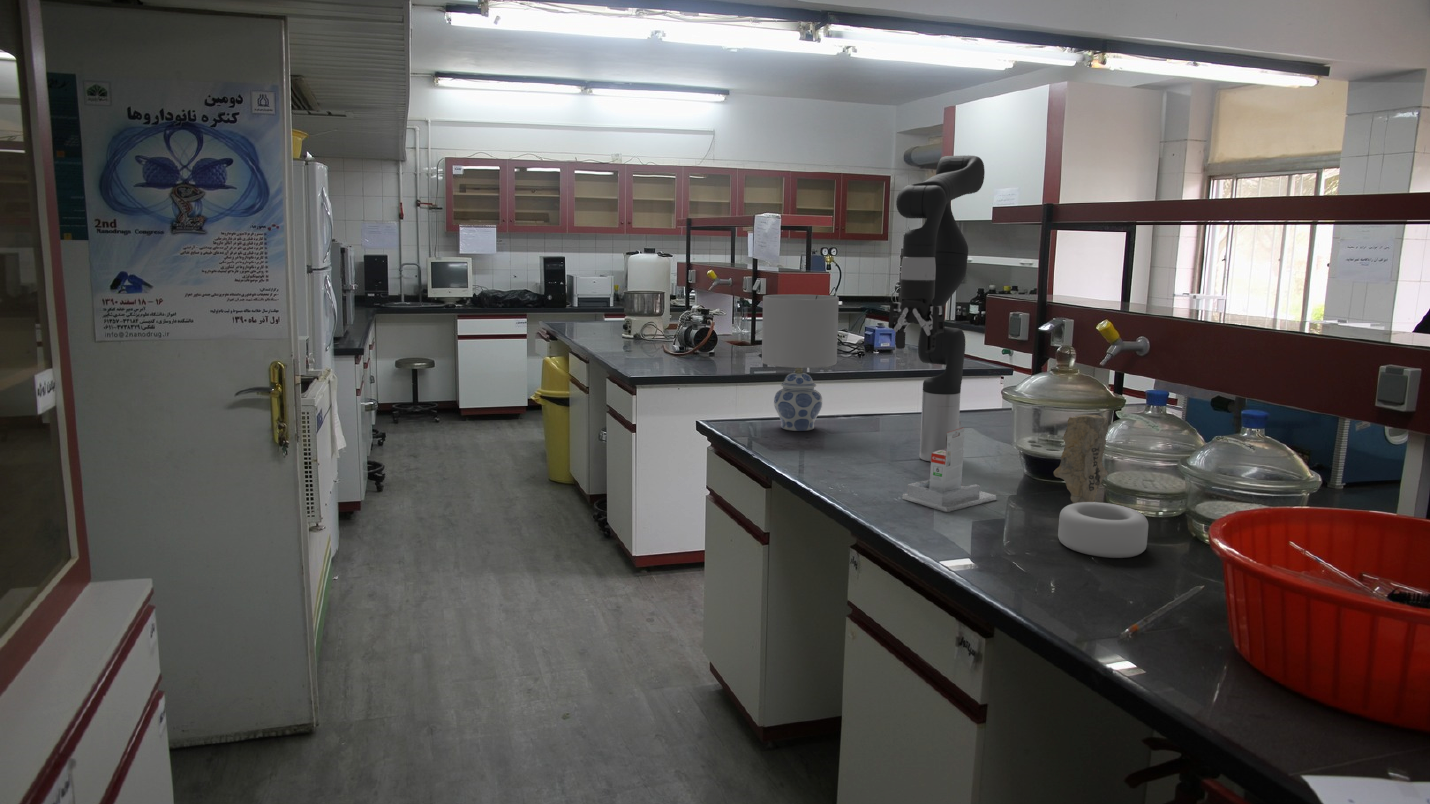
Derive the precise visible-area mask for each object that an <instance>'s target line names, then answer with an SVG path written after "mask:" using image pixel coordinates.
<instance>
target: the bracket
mask: <svg viewBox="0 0 1430 804" xmlns="http://www.w3.org/2000/svg"><path fill="white" fill-rule="evenodd" d="M929 485H930V479H926V480H921V481H917V482H912V483H908V484H907V490H906V491H907V492H906V493H903V494H902V500H904V501H908V502H911V503H916V504H918V505H921V506H925V507H928V508H932V509H934V510H936V511H937V510H938V511H941V512H945V513H949V512H953V511H957V510H960V509H966V508H969V507H973V506H977V505H981V504H985V503H989V502H993V501H996V500H997V494H993V493H989V492H986V491H982V490H981V485H979V484H976V483H974V484H970V485H967V486H966V485H965V486H963V485H961V488H957V489H953V490H948V491H944V492H939V491H935V490H932V489H929Z"/></svg>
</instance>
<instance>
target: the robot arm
mask: <svg viewBox="0 0 1430 804" xmlns="http://www.w3.org/2000/svg"><path fill="white" fill-rule="evenodd" d="M984 180H985V164H984V161H983V160H982V159H981V158H980V157H979V156H976V155H969V154H968V155H945V156H941V157H940V158H939V160H938V163H937V166H936V171H935V175H933V176H931V177H929V178H928V179H925V181H919V182H915V183H911V184H908V185H906V186H903V187H902V188H901V190H900V191H899V192H898V194H897V197H896V202H895V203H896V204H895V205H896V209H897V212H898V213H899V215H900V216H902V218H903V217H904V218H905V219H926V220H925V222H924V224H923V225H922V226H921V227H919V228H915V229H909V230H907V231H905V232H904V235H903V243H902V245H903V248H902V262H901V267H900V284H899V285H900V287H899V298H900V299H901V302H899V301H897V302H896V301H895V302H894V301H893V302H891V303H890V305H889V314H888V328H889V329H892V330H893V331H894V332H895V335H894V336H895V337H894V338H895V341H894V342H895V343H894V345H895V348H896V349H899V350H902V349H905V347H906V332H905V331H906V329H907V328H908V326H909V325H912V324H915V325H919V326H920V330H919V335H918V342H917V343H918V345H917V353H918V358H919V361H921V362H922V363H925V364H932V365H940V366H941V365H942V366H945V368H944V369H945V370H944V371H943V372H942V373H941V374H939V375H936V376H932V377H928V378H925V379H924V380H923V383H922V397H921V399H922V401H921V415H920V416H921V419H920V439H919V459H920V460H923V461H927V462H931V453H933V452H936V451H939V450H942V449H945V448H946V433H947V432H950V431H953V430H957V429H960V428H962V422H961V420H960V411H961V409H960V407H961V391H962V389H961V387H962V383H963V373H964V372H963V370H964V360H965V353H966V335H965V332H964V331H963V329H960V328H958V327H945V306H946V304H947V303H948V301H949V300H950V298H952V296H953V295H954V293H955V292H956V291H957V289H959V288H960V286H961V284H962V283H963V281H964V279H965V277H966V274H967V269H968V268H967V267H968V258H969V246H968V244H967V239H966V238H965V236H964V234H963V232H962V231H961V229H960V227H959V225H958V223H957V222H956V219H955V216H954V214H953V211H952V205H951V202H952V201H953V200H955V199H957V198H960V197H962V196H965V195H971V194H975V193H978V192H979V191H980V190H981V189H982V187H983V185H984ZM958 435H959V433H955V434H953V435H952V438H953V437H956V436H958Z"/></svg>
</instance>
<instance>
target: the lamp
mask: <svg viewBox="0 0 1430 804" xmlns="http://www.w3.org/2000/svg"><path fill="white" fill-rule="evenodd" d="M839 298H840V297H839V296H835V295H834V296H832V295H823V294H821V295H820V294H797V293H796V294H794V293H793V294H768V295H763V296H762V326H761V327H762V328H761V329H762V331H761V332H762V333H761V335H762V337H761V340H762V341H761V363H762V364H764V365H769V366H771V367H772V366H774V367H780V368H781V367H782V368H795V369H794V372H791V373H789V374H787V375H786V376H785V378H784V380H783V382H781V383H780V386H781V387H782V388H781V389H779V390H778V391H777V392H776V393H775V395H774V398H773V407H774V409H775V411H776V413H777V415H778V417H779V419H780V422H781V424H780V428H781V429H783V430H786V431H790V432H791V431H792V432H793V431H794V432H807V431H812V430H813V429H815V425H814V424H815V421H816V419H817V417H818V416H819V414H820V412H821V410H822V408H823V397H822V395H821V394H822V393H820V392H819V391H818V390H816V389H815V388H816V387H817V383H815V382H814V380H813V377H812V376H811V375H810V374H807V373H805V372H804V371H803V370H804V369H809V368H816V369H817V368H826V367H831V366H835V365H837V361H838V332H839V330H838V329H839V302H840V301H839V300H840V299H839Z"/></svg>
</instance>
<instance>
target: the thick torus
mask: <svg viewBox="0 0 1430 804" xmlns="http://www.w3.org/2000/svg"><path fill="white" fill-rule="evenodd" d="M1058 519H1059V520H1058V532H1057V537H1058V539H1059V542H1060V544H1062V545H1063V546H1064V547H1066V548H1068V549H1070V550H1072V551H1074V552H1078V553H1081V554H1085V555H1089V556H1093V557H1099V558H1110V559H1123V558H1124V559H1125V558H1132V557H1136V556H1139V555H1141V554H1142V553H1143V552H1145V550H1146V549H1147V547H1148V546H1147V545H1148V533H1149V521H1148V519H1147V518H1146V516H1145V515H1143V514H1142V513H1141V512H1139V511H1137V510H1136V509H1134V508H1130V507H1127V506H1123V505H1119V504H1115V503H1108V502H1097V501H1095V502H1080V503H1070V504H1068V505H1066V506H1064V507H1063V508H1062V509H1061V510H1060V513H1059V517H1058Z"/></svg>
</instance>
